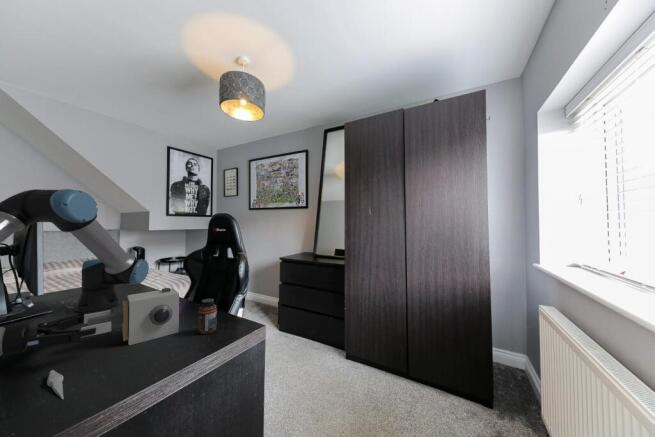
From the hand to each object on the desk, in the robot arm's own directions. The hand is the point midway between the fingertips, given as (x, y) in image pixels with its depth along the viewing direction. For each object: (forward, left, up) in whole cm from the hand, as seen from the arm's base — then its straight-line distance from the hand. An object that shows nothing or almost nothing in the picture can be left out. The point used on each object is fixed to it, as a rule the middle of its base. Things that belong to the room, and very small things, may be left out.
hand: (111, 319), depth 79 cm
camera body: (+1, +11, -8) cm, 14 cm away
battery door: (0, -1, -6) cm, 6 cm away
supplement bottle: (+11, +26, -8) cm, 30 cm away
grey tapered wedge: (+19, -10, -8) cm, 23 cm away
